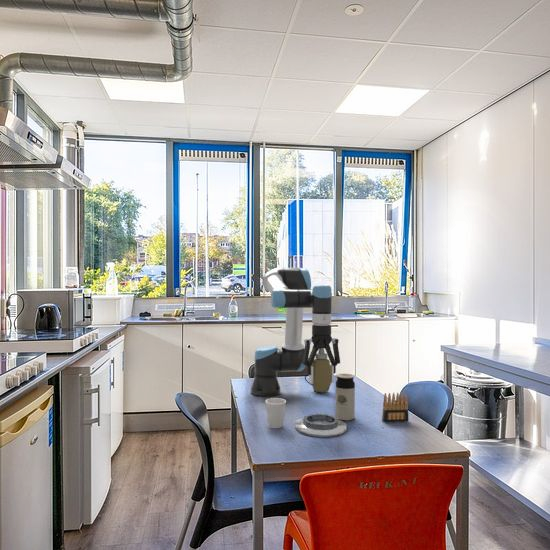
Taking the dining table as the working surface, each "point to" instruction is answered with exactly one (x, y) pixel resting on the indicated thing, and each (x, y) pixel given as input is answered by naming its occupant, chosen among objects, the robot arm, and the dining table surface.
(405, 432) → the dining table surface
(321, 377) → the squeeze bottle
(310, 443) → the dining table surface
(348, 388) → the travel mug
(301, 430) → the rosette plate
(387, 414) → the ammunition clip
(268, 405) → the dixie cup
